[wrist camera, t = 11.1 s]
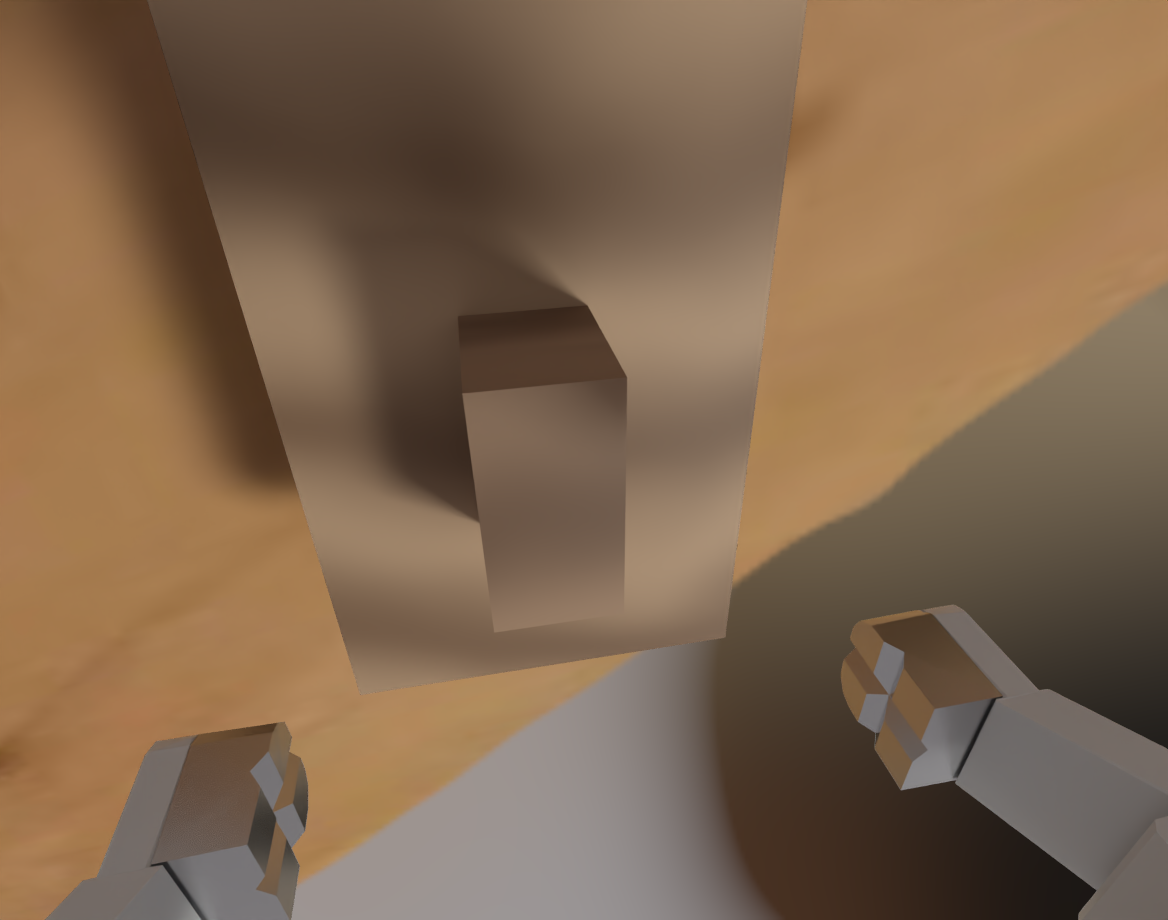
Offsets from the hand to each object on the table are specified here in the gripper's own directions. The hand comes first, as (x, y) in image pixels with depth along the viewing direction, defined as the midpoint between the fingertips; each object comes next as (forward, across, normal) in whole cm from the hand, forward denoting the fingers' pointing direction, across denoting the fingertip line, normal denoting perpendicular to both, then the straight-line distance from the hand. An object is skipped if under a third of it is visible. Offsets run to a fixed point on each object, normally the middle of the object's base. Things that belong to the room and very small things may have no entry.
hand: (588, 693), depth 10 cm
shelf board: (+10, 0, 0) cm, 10 cm away
